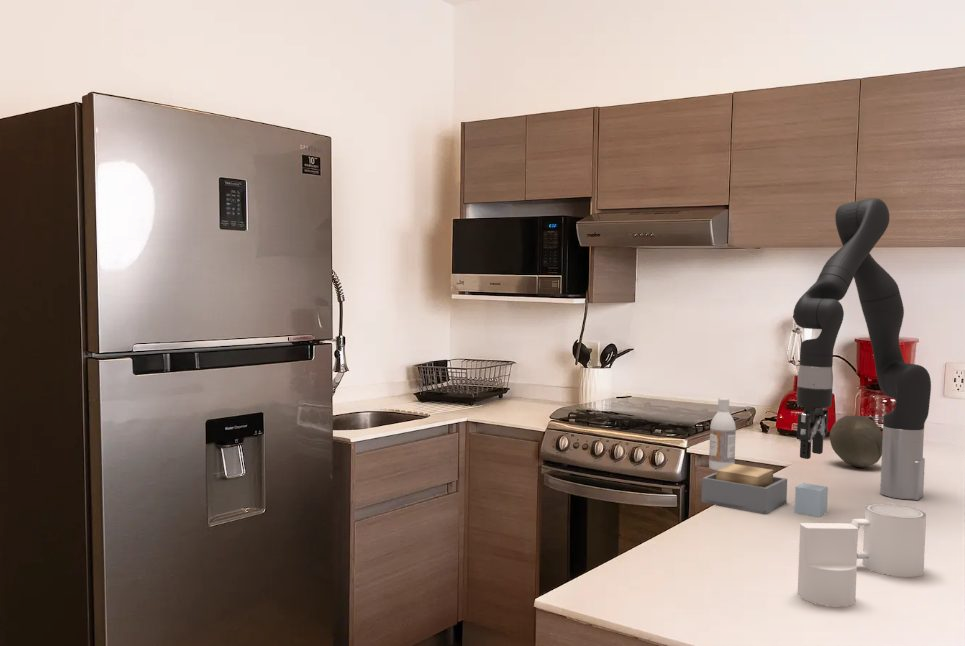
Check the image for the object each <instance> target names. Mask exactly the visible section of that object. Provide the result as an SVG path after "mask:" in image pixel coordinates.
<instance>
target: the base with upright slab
mask: <svg viewBox="0 0 965 646" xmlns="http://www.w3.org/2000/svg"><path fill="white" fill-rule="evenodd" d="M858 537H859V530H858V528H857V527H856V526H854V525H852V524H851V523H841V522H840V523H838V522H837V523H835V522H833V523H831V522H829V523H828V522H825V523H823V522H822V523H821V522H817V523H816V522H800V523H799V545H798V546H799V547H798V549H799V551H798V569H797V570H798V573H797V595H798V596H800V597H799V598H801V597H802V598H803V599H802V598H801V599H802V600H804V599H805V601H806V600H807V602H808V601H810V602H809V603H811V602H813V604H814V603H816V604H815V605H818V604H821V605H820V606H823V605H828V606H827V607H830V606H846V607H848V606H847V605H851V604H853V605H854V604H855V603H856V594H857V593H856V592H857V569H858V565H857V563H858V562H857V561H858V559H857V552H858V539H859V538H858ZM851 606H852V605H851Z"/></svg>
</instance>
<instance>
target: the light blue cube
mask: <svg viewBox="0 0 965 646" xmlns="http://www.w3.org/2000/svg"><path fill="white" fill-rule="evenodd" d="M828 489H829V486H826V485H820V484H814V483H813V484H812V483H806V482H802V483H800V484H799V485H797V486H795V498H794V513H795V514H799V515H800V514H801V515H805V514H806V516H811V515H812V517H816V516H819V517H818V518H820V517H822V516H823V515H825V514H826V513H828V493H829V492H828V491H829V490H828ZM824 513H825V514H824ZM813 515H814V516H813ZM821 515H822V516H821Z"/></svg>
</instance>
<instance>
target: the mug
mask: <svg viewBox="0 0 965 646" xmlns="http://www.w3.org/2000/svg"><path fill="white" fill-rule="evenodd" d="M850 524H852V525H854V526H856V527H857V528H858V531H859V530H860V528H861V526H863V539H862V540H863V545H862V547H863V548H862V551H857V560H858V559H862V565H864V566H865V569H867V568H868V569H867V570H869V569H870V571H871V570H872V571H871V572H874V571H875V573H877V572H878V573H877V574H880V573H881V574H880V575H884V574H886V575H885V576H889V575H891V576H890V577H897V578H916V577H920V576H922V575H923V574H924V570H925V568H924V567H925V553H926V552H925V549H926V548H925V546H926V527H927V525H926V524H927V514H926V513H925V512H924V511H922V510H920V509H917V508H914V507H909V506H907V505H906V506H905V505H899V504H891V503H873V504H867V505H865V507H864V518H852V520H851V522H850ZM864 566H863V567H864Z"/></svg>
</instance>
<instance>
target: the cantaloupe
mask: <svg viewBox="0 0 965 646" xmlns="http://www.w3.org/2000/svg"><path fill="white" fill-rule="evenodd" d="M881 430H882V429H881V428H880V427H879V425H878V424H877V423H876V422H875V420H873V419H871V418H870V417H867V416H864V415H845V416H843V417H841V418H839V419H838V420H837V421H835V422H834V423H833V425H832V427H831V429H830V431H829V442H830V446H831V449H832V450H833V451H834V453H835V454H836V455H837V457H838V458H840V459H841V460H842V461H843V462H845V463H846V464H848V465H850V466H852V467H856V468H861V469H862V468H863V469H865V468H867V467H870V466H872V465H875V464H877V463H878V462H879V461H880V459H882V439H883V431H881Z"/></svg>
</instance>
